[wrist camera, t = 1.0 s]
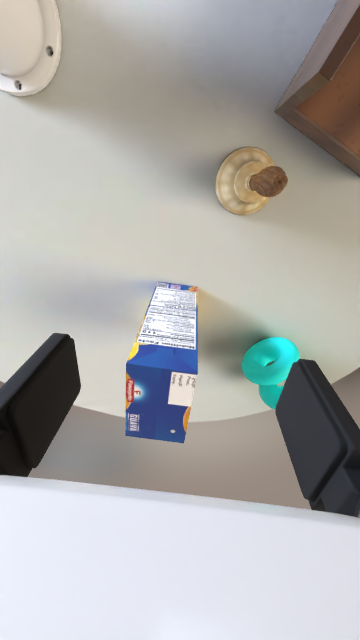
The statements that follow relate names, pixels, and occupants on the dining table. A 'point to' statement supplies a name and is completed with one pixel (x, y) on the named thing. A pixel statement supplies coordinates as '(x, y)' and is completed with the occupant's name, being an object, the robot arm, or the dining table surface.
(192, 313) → the beverage box
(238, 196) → the hand bell
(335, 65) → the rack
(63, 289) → the dining table surface
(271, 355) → the donuts
